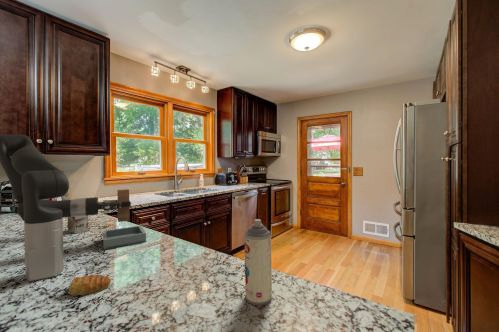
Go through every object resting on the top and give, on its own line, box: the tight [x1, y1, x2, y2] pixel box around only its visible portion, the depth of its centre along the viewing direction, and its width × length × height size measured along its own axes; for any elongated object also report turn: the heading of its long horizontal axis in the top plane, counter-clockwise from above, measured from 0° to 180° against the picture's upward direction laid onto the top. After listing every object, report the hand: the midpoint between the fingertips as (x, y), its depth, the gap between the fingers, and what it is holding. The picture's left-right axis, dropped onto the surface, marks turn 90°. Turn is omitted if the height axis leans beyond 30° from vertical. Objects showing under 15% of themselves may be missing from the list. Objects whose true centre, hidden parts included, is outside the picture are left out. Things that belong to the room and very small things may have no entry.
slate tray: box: [102, 225, 147, 251], centre depth 104 cm, size 16×16×4 cm
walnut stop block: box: [116, 188, 130, 223], centre depth 104 cm, size 4×4×14 cm
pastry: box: [68, 274, 112, 297], centre depth 64 cm, size 9×7×4 cm
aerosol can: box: [244, 218, 273, 307], centre depth 58 cm, size 7×7×20 cm
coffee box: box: [67, 216, 89, 234], centre depth 121 cm, size 9×6×16 cm
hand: (129, 203), depth 105 cm, fingers closed on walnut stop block, 4 cm apart
